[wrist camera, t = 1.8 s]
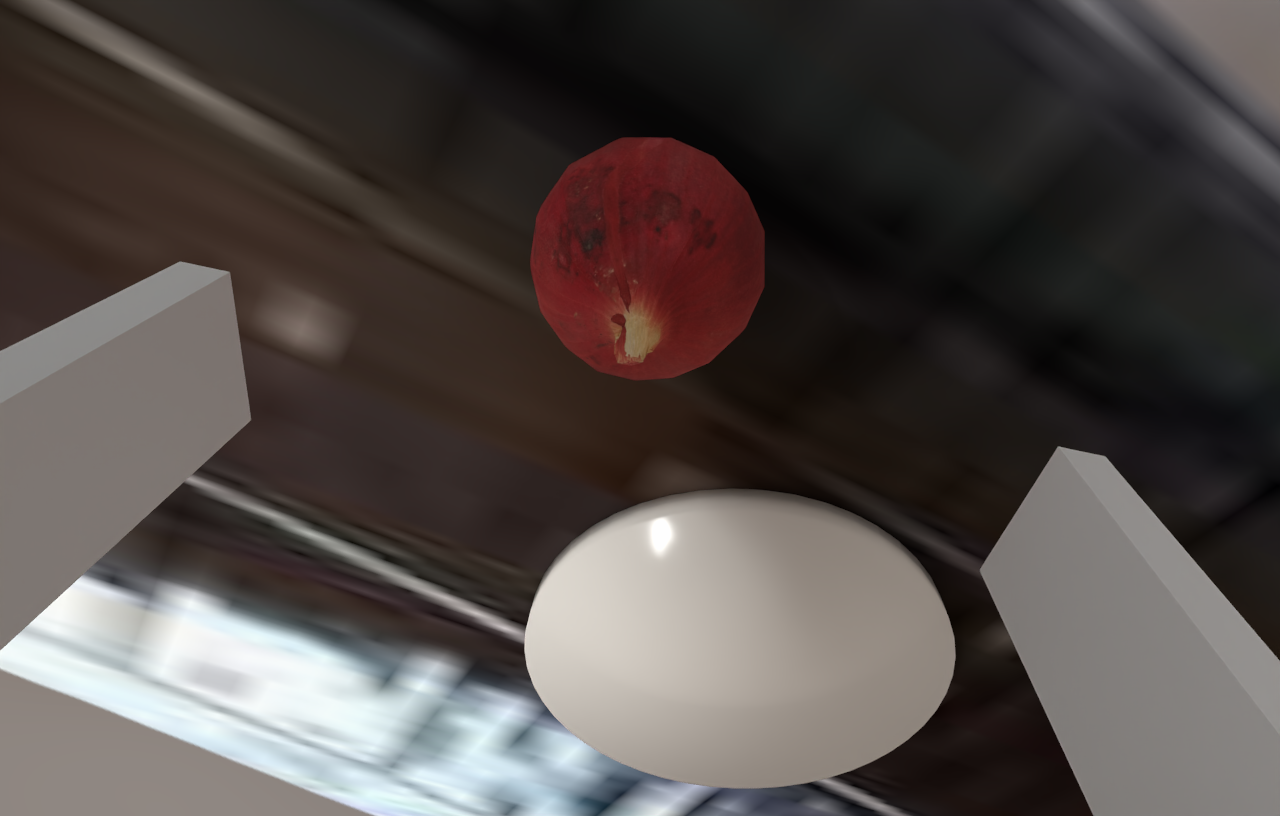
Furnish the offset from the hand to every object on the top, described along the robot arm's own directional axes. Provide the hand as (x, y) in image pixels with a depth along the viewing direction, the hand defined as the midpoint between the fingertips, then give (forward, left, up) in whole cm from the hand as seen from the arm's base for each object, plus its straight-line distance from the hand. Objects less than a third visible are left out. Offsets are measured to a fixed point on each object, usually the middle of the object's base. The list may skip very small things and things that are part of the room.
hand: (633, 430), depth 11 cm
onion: (0, 0, -11) cm, 11 cm away
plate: (+18, +7, -11) cm, 22 cm away
